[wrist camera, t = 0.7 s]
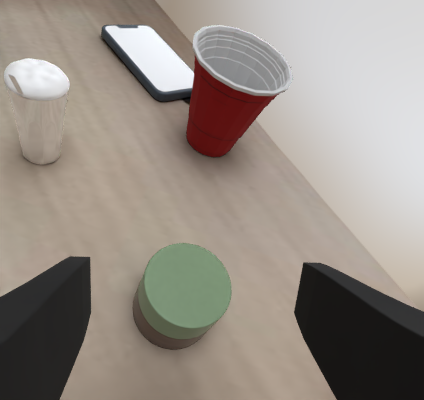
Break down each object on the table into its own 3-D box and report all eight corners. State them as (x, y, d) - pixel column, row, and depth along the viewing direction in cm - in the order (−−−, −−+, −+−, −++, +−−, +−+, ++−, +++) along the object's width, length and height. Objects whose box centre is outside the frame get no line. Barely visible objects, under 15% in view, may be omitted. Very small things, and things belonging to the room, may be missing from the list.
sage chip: (226, 337, 24) (239, 326, 22) (138, 342, 22) (145, 330, 20) (213, 259, 28) (224, 244, 26) (137, 256, 26) (143, 240, 24)
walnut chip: (215, 346, 26) (226, 337, 24) (132, 352, 24) (138, 342, 22) (204, 272, 30) (213, 259, 28) (132, 270, 28) (137, 256, 26)
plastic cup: (152, 151, 37) (180, 51, 28) (178, 103, 45) (207, 12, 36) (241, 187, 38) (293, 102, 30) (251, 134, 46) (296, 54, 37)
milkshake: (-3, 163, 29) (-23, 61, 22) (32, 130, 33) (24, 33, 26) (47, 183, 30) (43, 89, 23) (76, 148, 34) (80, 57, 26)
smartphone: (206, 96, 48) (148, 33, 54) (210, 87, 47) (150, 23, 52) (156, 105, 43) (96, 34, 48) (159, 95, 42) (97, 23, 47)
